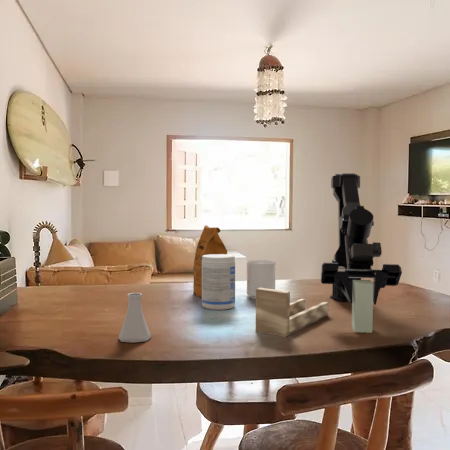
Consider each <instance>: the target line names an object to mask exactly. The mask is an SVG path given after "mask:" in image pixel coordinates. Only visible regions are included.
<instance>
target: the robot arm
mask: <svg viewBox="0 0 450 450" xmlns="http://www.w3.org/2000/svg"><path fill="white" fill-rule="evenodd" d="M330 188H331V189H332V195H333V197H334V198H335V200H336V201H337V204H338V205H337V207H338V211H337V212H338V249H337V250H336V251H335V254H334V255H333V259H331V262H323V263H322V264H321V269H320V283H321V284H323V285H332V294H331V295H329V296H330V298H331V299H334V300H338V301H340V302H348V303H349V305H352V290H353V280H362V279H373V282H372V283H373V284H374V285H373V306H376V305H377V302H378V298H379V292H380V291H381V289H384V288H386V286H388V287H389V286H391V287H394V286H395V287H396V286H398V285H399V284H400V283H399V282H400V279H401V277H402V273H403V271H402V267H401V266H400V264H397V263H393V264H392V263H391V264H390V263H383V265H382V269H373V268H372V267H373V265H374V258H380V257H381V255H382V253H383V252H382V245H381V242H376V241H375V242H374V241H373V242H372V243H369V241H368V238H369V237H370V235H371V232H372V227H374V224H375V223H374V214H373V213H372V212H371V211H370V210H368V209H366V208H365V206H364V205H361V203H360V195H359V189H360V188H361V176H360V175H358V174H357V173H354V172H351V173H349V172H348V173H347V172H346V173H344V172H343V173H335V175H332V177H331V179H330Z"/></svg>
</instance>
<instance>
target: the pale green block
mask: <svg viewBox="0 0 450 450" xmlns="http://www.w3.org/2000/svg"><path fill="white" fill-rule="evenodd" d="M373 285H374V284H373V282H372V280H370V279H361V280H353V290H352V304H351V328H352V330H353V331H354V333H364V332H365V333H369V334H372V333H373V324H374V323H373V319H374V318H373V316H374V314H373V313H374V303H373ZM365 333H364V334H365Z"/></svg>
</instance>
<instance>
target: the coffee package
mask: <svg viewBox="0 0 450 450" xmlns="http://www.w3.org/2000/svg"><path fill="white" fill-rule="evenodd" d="M219 233H221V228H219V227H210V226H208V225H204V226H203V229H202V232H201V234H200V236H199V237H200V238H199V239H198V242H197V245H196V248H195V252H194V253H195V254H194V260H193V269H192V271H193V284H192V285H193V294H195V295H196V296H197V297H198V298H202V256H203V255H208V254H228V249H227V247H226V246H225V244H224V242H223V240H222V238H221V237H220V234H219Z"/></svg>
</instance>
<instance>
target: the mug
mask: <svg viewBox="0 0 450 450" xmlns="http://www.w3.org/2000/svg"><path fill="white" fill-rule="evenodd" d="M276 264H277V263H276V261H273V260H268V259H253V260H252V259H251V260H247V261H246V294H247V296H248V298H250V299H252V300H256V289H257V288H267V289H275V290H276V269H277V268H276Z"/></svg>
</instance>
